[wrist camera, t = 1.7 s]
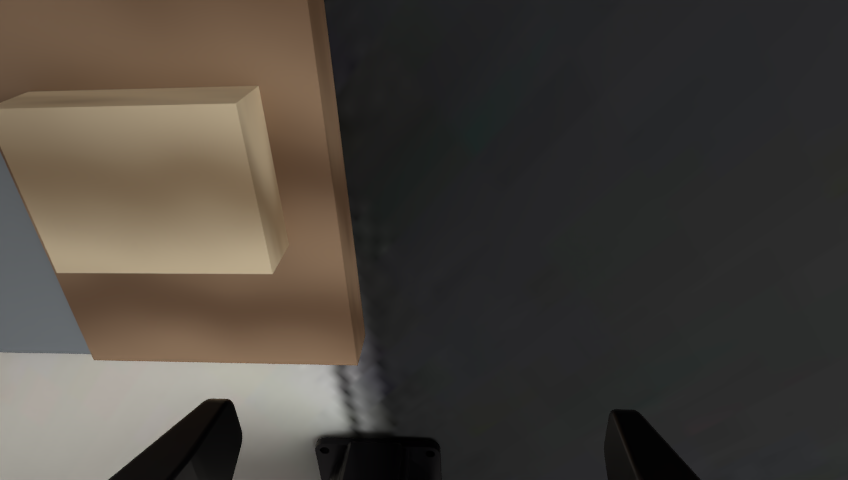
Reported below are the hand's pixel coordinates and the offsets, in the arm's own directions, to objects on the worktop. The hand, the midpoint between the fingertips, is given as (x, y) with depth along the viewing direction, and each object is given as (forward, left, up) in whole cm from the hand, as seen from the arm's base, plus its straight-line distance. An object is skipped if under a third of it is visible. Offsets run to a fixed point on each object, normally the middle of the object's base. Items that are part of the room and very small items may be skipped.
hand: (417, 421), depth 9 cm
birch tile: (0, +10, -10) cm, 14 cm away
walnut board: (0, +10, -13) cm, 16 cm away
